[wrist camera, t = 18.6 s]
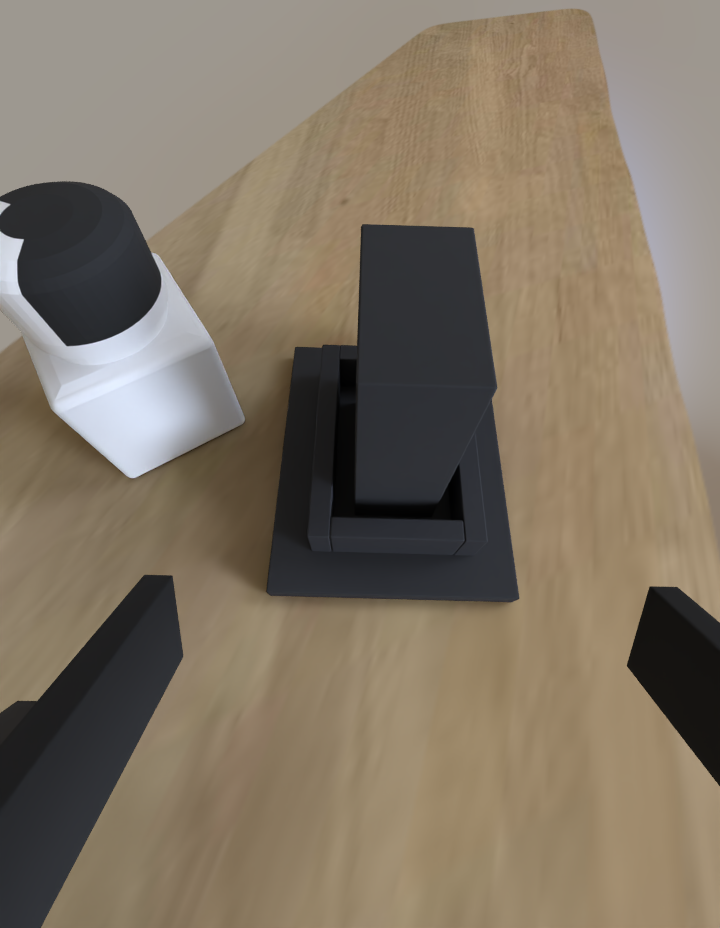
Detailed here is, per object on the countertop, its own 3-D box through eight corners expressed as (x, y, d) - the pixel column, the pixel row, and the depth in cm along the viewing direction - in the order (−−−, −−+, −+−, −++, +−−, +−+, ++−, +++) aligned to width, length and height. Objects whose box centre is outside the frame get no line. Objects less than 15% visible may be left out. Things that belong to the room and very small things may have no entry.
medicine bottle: (199, 345, 28) (104, 138, 17) (248, 424, 25) (171, 238, 14) (91, 392, 26) (-93, 194, 15) (131, 482, 23) (-57, 320, 13)
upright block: (354, 515, 22) (356, 384, 12) (357, 401, 25) (361, 223, 15) (432, 517, 22) (498, 388, 12) (425, 403, 25) (474, 226, 15)
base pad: (269, 595, 21) (255, 582, 18) (297, 357, 27) (289, 316, 24) (512, 602, 21) (540, 589, 18) (481, 362, 28) (497, 322, 24)
